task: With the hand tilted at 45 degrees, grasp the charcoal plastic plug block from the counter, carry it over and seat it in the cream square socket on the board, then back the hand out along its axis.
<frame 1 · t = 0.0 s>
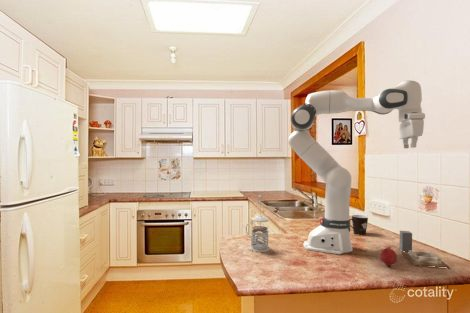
hand: (409, 147, 128), 48 cm above the worktop, tool pointing down, fingers open, 8 cm apart
french press: (257, 248, 133), on the worktop
socket board: (424, 261, 119), on the worktop
plug: (405, 251, 132), on the worktop
coffee mug: (356, 233, 163), on the worktop
onion: (388, 266, 113), on the worktop
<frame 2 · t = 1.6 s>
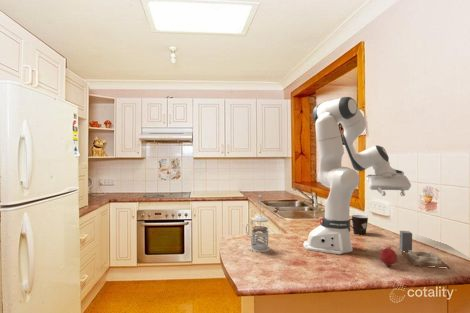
hand: (393, 195, 145), 24 cm above the worktop, tool tilted 45°, fingers open, 8 cm apart
nothing on the worktop moved.
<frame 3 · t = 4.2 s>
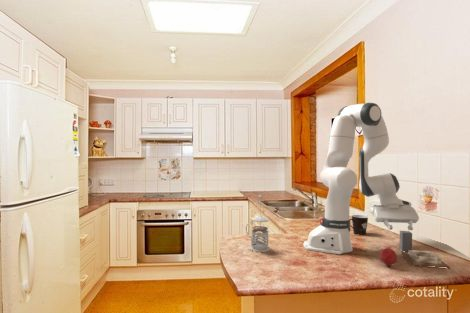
hand: (400, 229, 137), 9 cm above the worktop, tool tilted 45°, fingers open, 8 cm apart
nothing on the worktop moved.
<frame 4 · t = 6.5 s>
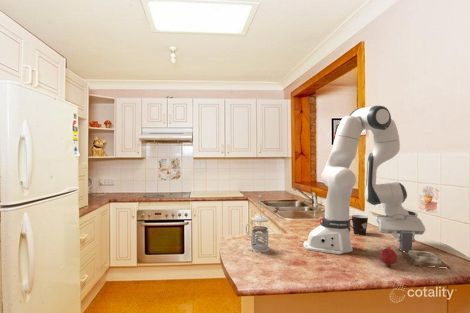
hand: (406, 241, 132), 5 cm above the worktop, tool tilted 45°, fingers closed on plug, 4 cm apart
plug: (405, 251, 132), on the worktop, touching gripper
everything else where it was.
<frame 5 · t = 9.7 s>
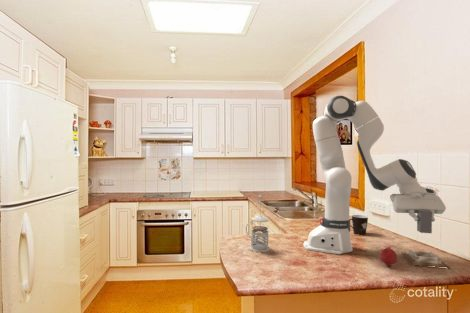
hand: (425, 220, 118), 17 cm above the worktop, tool tilted 45°, fingers closed on plug, 4 cm apart
plug: (424, 231, 119), point 12 cm above the worktop, touching gripper
everything else where it was.
when the fingers open (7 cm above the worktop, at t = 12.7 s): plug drops 1 cm, resting on socket board.
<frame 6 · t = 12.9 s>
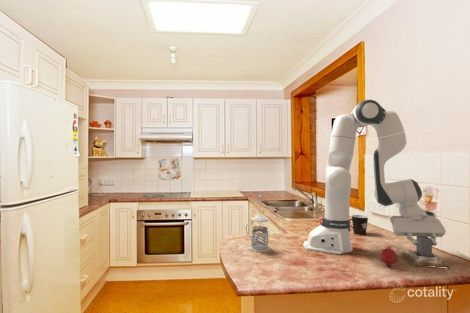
hand: (425, 244, 118), 7 cm above the worktop, tool tilted 45°, fingers open, 6 cm apart
plug: (423, 259, 119), point 1 cm above the worktop, touching socket board
everything else where it was.
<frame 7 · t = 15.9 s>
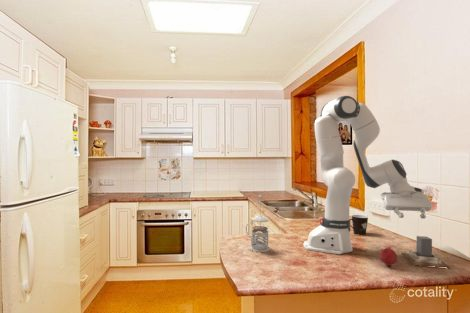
hand: (412, 217, 128), 17 cm above the worktop, tool tilted 45°, fingers open, 8 cm apart
nothing on the worktop moved.
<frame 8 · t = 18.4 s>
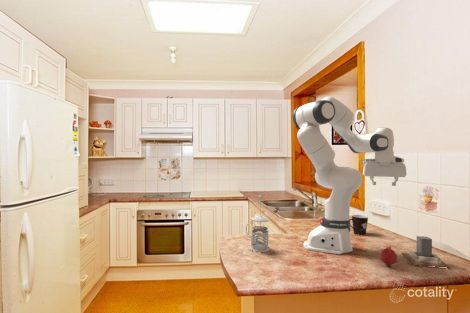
hand: (383, 185, 148), 29 cm above the worktop, tool pointing down, fingers open, 8 cm apart
nothing on the worktop moved.
at the end: plug 0.0 cm off-centre on the socket board, point 1.0 cm above the socket board's base; plug tilted 0°; the gripper is holding nothing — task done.
